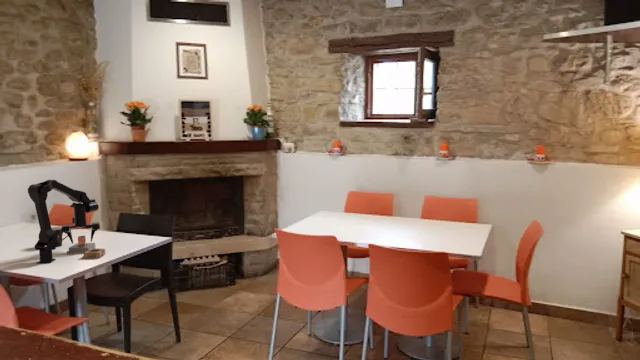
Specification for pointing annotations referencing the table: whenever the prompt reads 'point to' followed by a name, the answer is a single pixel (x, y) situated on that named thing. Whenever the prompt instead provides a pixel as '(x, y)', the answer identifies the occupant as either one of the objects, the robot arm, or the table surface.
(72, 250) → the port
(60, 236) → the coffee mug
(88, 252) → the tan flat square block
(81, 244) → the peg
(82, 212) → the robot arm
